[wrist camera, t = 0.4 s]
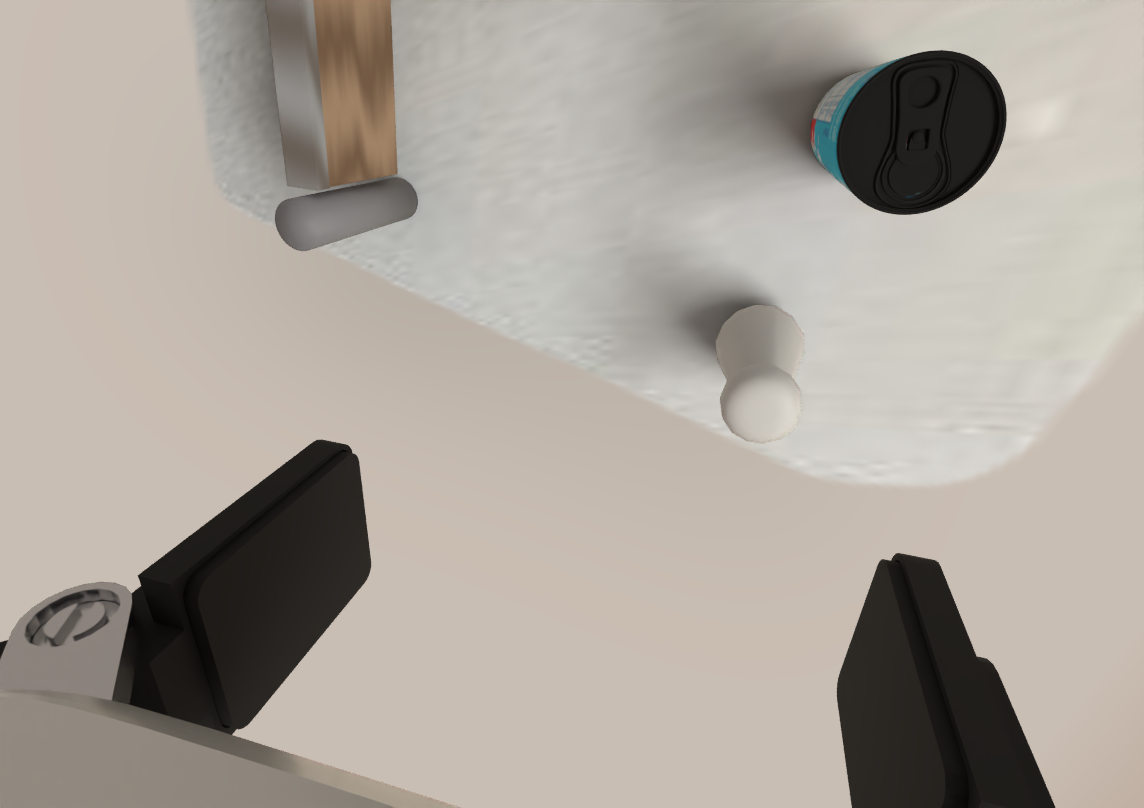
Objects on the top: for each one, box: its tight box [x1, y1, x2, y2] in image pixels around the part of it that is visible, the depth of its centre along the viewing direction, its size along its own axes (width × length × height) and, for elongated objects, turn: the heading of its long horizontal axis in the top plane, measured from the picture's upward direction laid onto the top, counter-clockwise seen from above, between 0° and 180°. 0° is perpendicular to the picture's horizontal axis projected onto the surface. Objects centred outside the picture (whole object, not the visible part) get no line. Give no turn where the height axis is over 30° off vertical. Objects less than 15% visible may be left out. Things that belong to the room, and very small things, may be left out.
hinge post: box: [275, 178, 418, 251], centre depth 42 cm, size 3×3×12 cm
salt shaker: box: [715, 305, 805, 443], centre depth 39 cm, size 6×6×13 cm
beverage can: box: [810, 50, 1006, 215], centre depth 31 cm, size 6×6×15 cm
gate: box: [266, 0, 397, 190], centre depth 37 cm, size 15×2×10 cm, turn 175°
